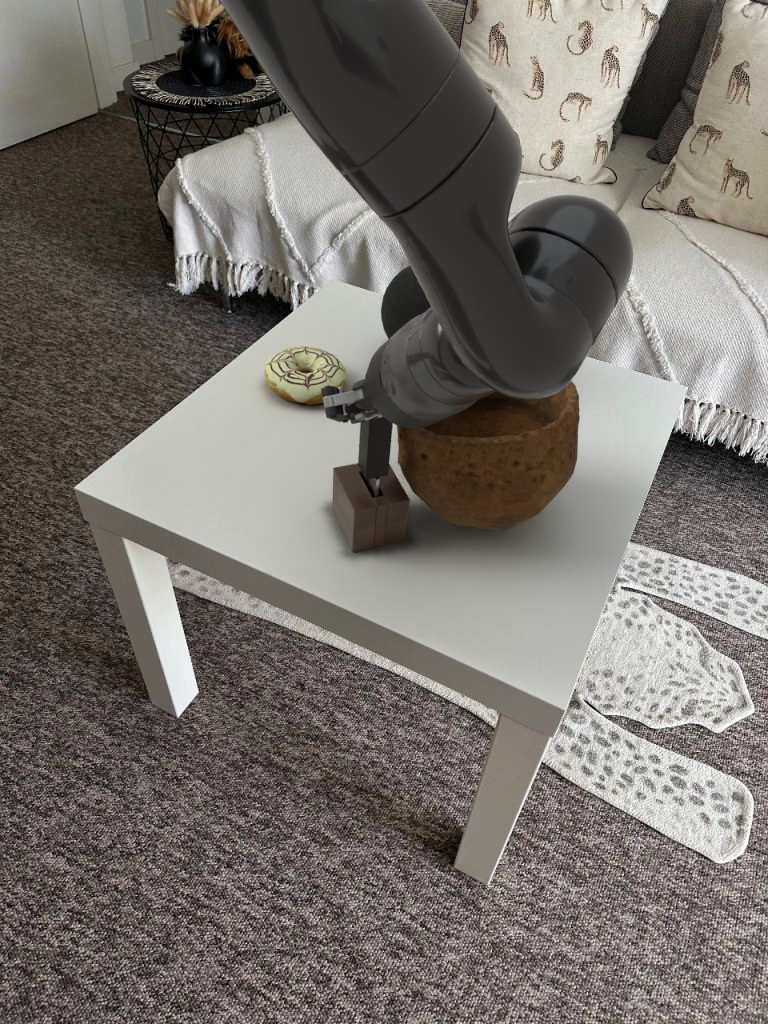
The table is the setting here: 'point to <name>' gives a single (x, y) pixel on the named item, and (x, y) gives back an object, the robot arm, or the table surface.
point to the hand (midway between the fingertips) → (366, 410)
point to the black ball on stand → (402, 301)
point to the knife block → (369, 508)
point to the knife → (374, 451)
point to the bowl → (494, 458)
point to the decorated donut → (303, 374)
